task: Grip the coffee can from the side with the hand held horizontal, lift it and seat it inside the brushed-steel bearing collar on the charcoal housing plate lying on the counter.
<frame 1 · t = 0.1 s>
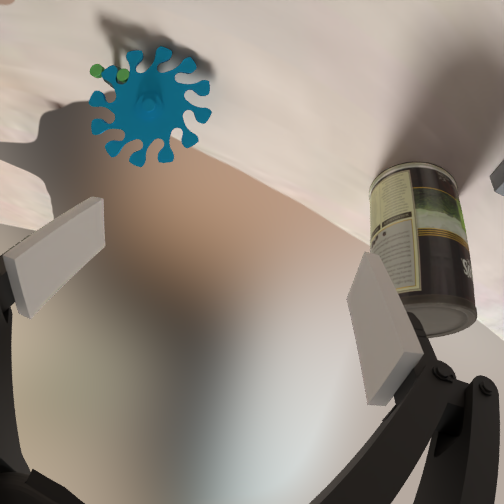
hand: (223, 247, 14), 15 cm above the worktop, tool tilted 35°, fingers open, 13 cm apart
gear: (163, 77, 23), on the worktop
coffee can: (413, 193, 29), on the worktop
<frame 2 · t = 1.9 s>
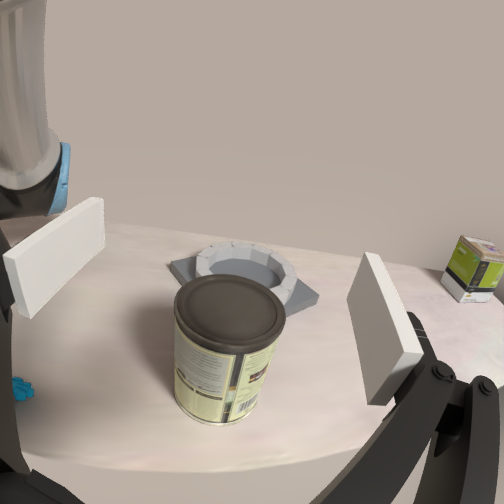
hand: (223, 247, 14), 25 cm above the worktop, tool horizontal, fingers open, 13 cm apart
gear: (5, 401, 24), on the worktop
tea box: (463, 293, 68), on the worktop
coffee can: (215, 392, 35), on the worktop
housing: (242, 288, 54), on the worktop
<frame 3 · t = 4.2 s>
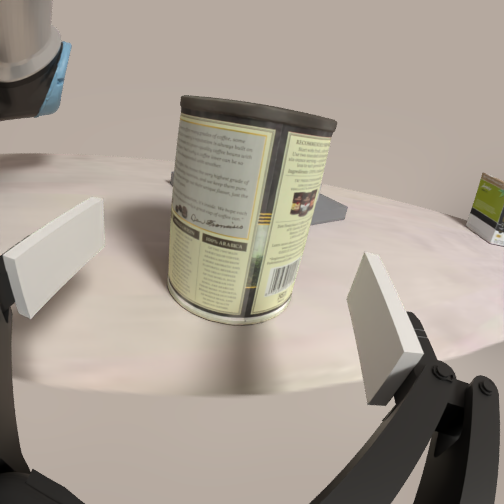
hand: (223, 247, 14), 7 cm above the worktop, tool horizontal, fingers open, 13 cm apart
tea box: (491, 238, 59), on the worktop
coffee can: (228, 285, 25), on the worktop
housing: (256, 200, 45), on the worktop
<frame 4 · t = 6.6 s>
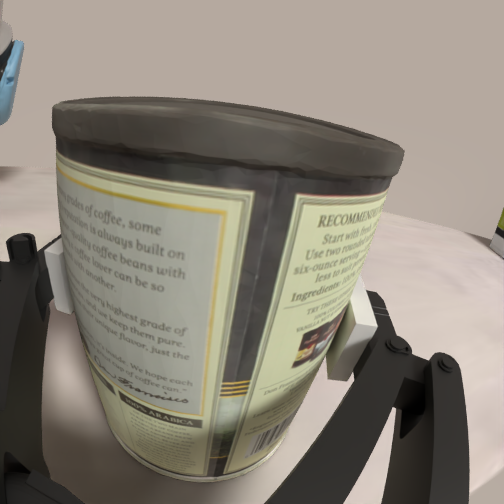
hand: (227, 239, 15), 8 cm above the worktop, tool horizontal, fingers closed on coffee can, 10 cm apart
coffee can: (195, 400, 15), on the worktop, touching gripper
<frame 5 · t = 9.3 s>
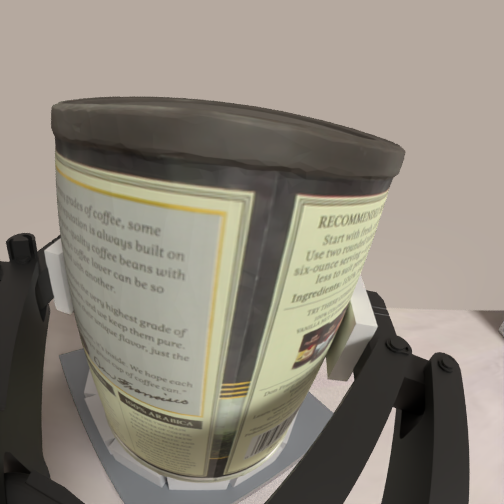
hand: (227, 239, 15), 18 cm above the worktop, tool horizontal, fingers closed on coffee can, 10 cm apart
coffee can: (195, 401, 15), point 10 cm above the worktop, touching gripper
housing: (190, 410, 24), on the worktop
when the fingers open (11 cm above the worktop, at t = 11.9 s): coffee can drops 1 cm, resting on housing.
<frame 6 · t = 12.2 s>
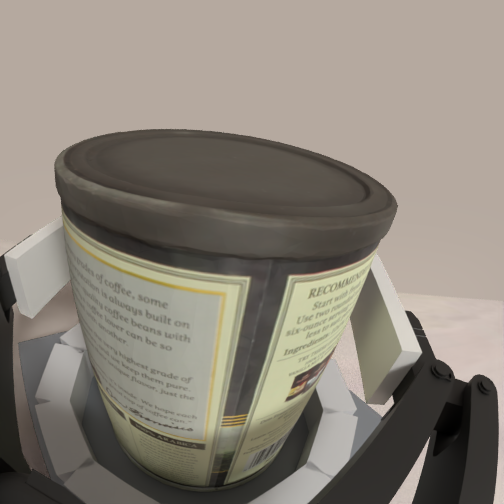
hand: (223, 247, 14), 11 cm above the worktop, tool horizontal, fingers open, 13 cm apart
coffee can: (197, 414, 16), point 2 cm above the worktop, touching housing
housing: (194, 427, 17), on the worktop
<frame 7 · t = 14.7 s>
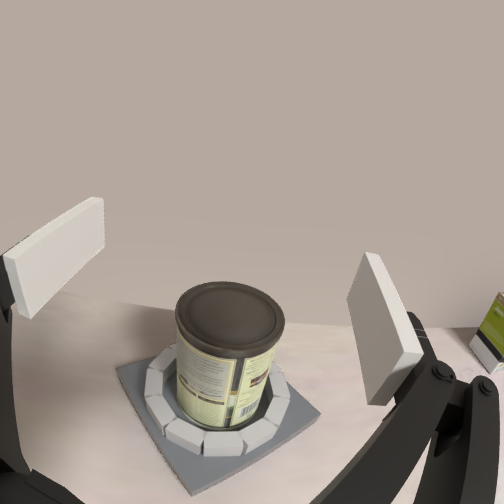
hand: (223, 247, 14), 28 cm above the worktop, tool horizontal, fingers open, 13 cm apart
tea box: (494, 356, 50), on the worktop
coffee can: (217, 398, 35), point 2 cm above the worktop, touching housing
housing: (214, 405, 36), on the worktop
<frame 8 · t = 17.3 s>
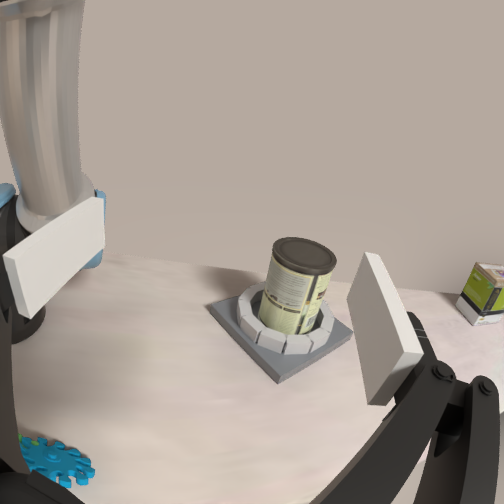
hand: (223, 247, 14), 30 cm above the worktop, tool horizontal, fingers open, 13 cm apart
gear: (59, 470, 23), on the worktop
tea box: (476, 315, 69), on the worktop
coffee can: (284, 320, 54), point 2 cm above the worktop, touching housing
housing: (281, 327, 55), on the worktop
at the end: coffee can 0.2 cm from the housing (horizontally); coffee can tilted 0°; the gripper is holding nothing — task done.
